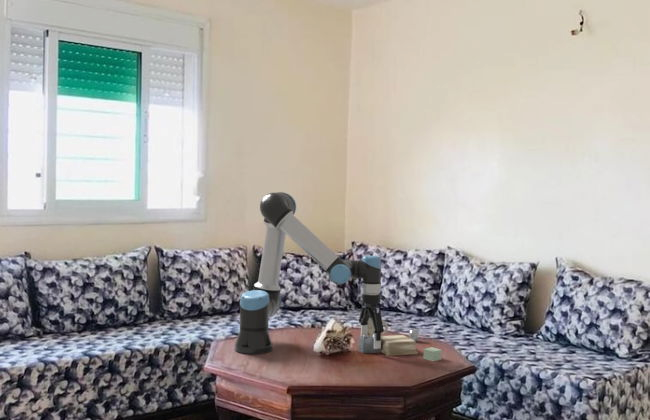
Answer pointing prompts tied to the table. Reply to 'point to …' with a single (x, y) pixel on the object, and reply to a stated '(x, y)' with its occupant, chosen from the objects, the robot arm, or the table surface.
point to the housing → (367, 344)
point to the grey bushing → (413, 334)
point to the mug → (371, 327)
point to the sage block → (432, 354)
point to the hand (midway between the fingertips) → (370, 344)
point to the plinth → (397, 345)
